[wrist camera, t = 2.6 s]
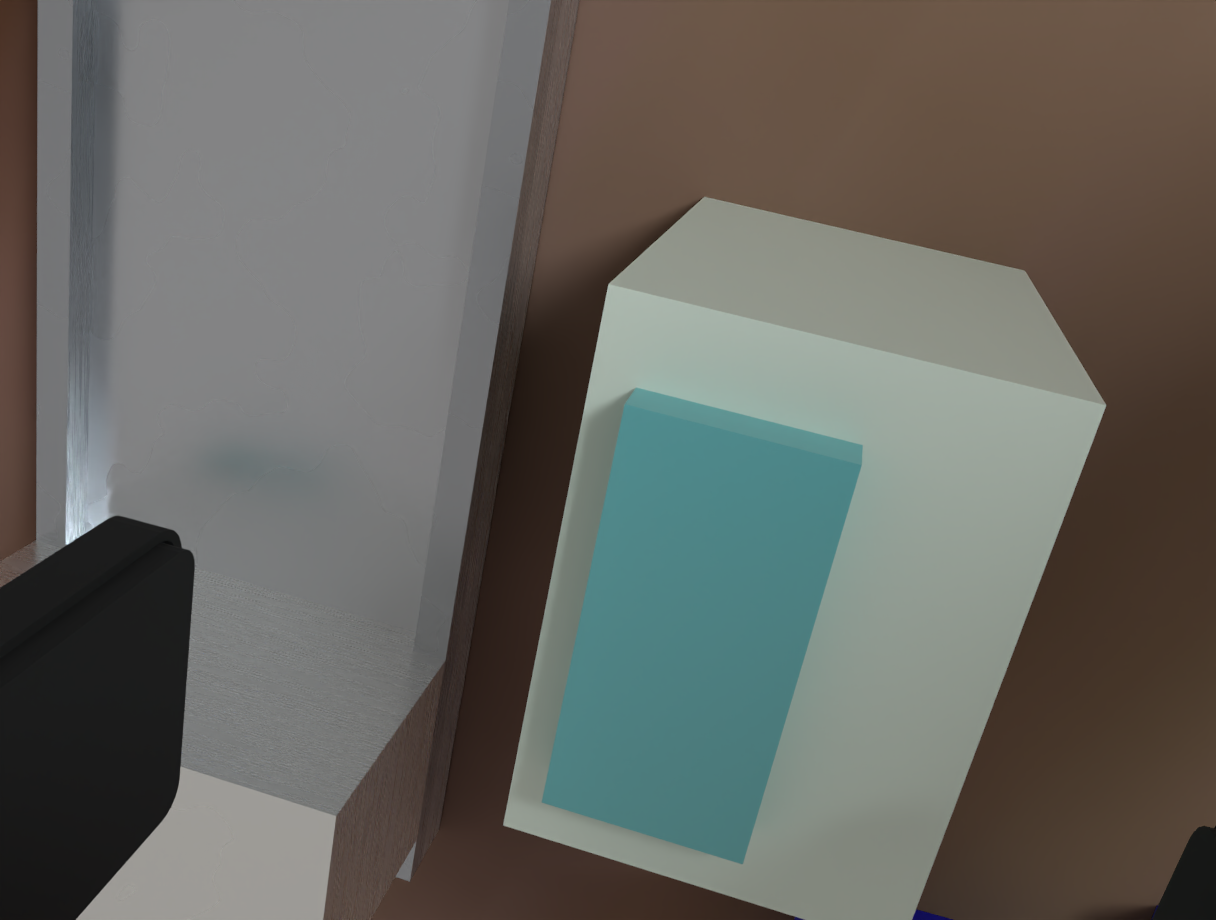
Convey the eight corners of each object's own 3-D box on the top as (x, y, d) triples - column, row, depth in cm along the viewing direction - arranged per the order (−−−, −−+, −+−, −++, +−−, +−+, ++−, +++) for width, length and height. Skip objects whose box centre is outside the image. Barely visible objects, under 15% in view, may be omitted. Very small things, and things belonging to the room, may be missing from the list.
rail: (694, -679, 15) (575, -1124, 9) (439, 829, 24) (300, 1075, 18) (119, -752, 16) (-306, -1189, 10) (86, 717, 25) (-148, 917, 19)
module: (1025, 269, 18) (1117, 423, 11) (894, 659, 20) (901, 987, 13) (704, 196, 18) (595, 296, 11) (619, 582, 21) (487, 856, 14)
